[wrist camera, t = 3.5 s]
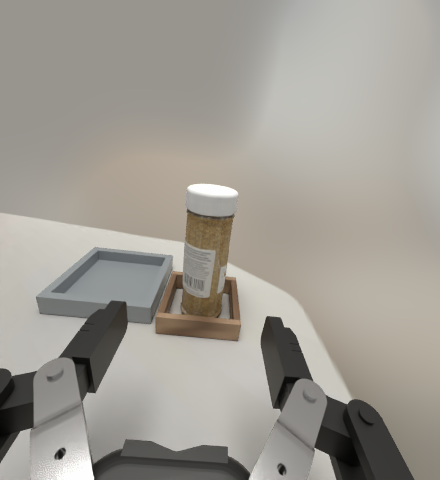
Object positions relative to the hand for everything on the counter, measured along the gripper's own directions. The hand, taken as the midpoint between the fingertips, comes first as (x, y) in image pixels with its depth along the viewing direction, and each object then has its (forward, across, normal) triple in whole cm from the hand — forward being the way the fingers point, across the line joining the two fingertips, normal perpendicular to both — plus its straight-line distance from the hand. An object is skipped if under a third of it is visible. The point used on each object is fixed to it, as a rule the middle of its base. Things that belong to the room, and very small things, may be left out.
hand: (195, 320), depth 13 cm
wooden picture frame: (+10, 0, +8) cm, 12 cm away
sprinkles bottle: (+10, 0, +8) cm, 13 cm away
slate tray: (+12, +10, +8) cm, 18 cm away
